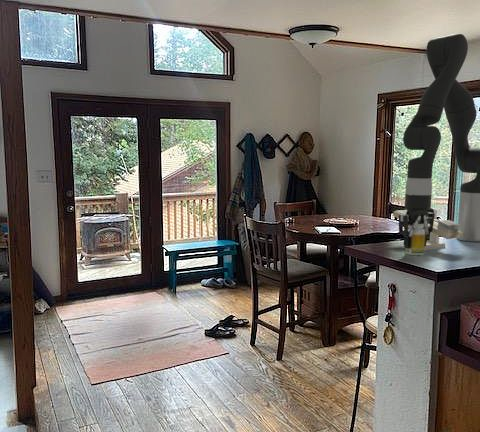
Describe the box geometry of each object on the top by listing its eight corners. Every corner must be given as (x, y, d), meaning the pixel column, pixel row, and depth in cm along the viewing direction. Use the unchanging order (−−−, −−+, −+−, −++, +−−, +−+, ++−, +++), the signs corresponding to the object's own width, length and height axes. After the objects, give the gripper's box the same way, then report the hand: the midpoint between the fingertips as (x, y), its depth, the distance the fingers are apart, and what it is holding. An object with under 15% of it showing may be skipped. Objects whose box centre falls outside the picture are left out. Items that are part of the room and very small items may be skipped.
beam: (406, 214, 169) (409, 203, 168) (461, 237, 151) (464, 225, 150) (392, 215, 165) (394, 204, 164) (446, 239, 148) (449, 226, 146)
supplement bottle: (401, 253, 150) (403, 222, 148) (411, 251, 153) (413, 221, 152) (417, 256, 146) (419, 225, 144) (427, 254, 149) (429, 223, 148)
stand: (429, 244, 165) (431, 218, 164) (444, 247, 160) (446, 220, 159) (403, 247, 158) (405, 220, 157) (418, 251, 153) (420, 223, 152)
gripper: (423, 191, 154) (420, 243, 156) (392, 192, 146) (389, 247, 148) (444, 193, 147) (440, 247, 149) (412, 194, 140) (409, 251, 142)
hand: (414, 246), depth 149 cm, fingers open, 6 cm apart
